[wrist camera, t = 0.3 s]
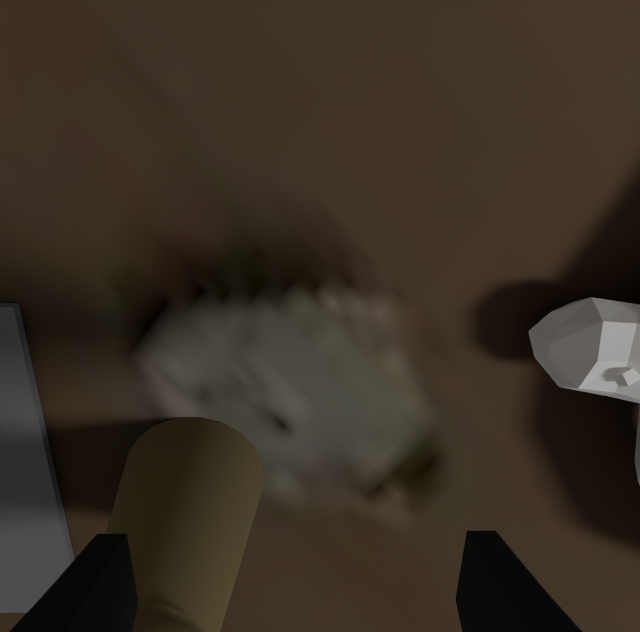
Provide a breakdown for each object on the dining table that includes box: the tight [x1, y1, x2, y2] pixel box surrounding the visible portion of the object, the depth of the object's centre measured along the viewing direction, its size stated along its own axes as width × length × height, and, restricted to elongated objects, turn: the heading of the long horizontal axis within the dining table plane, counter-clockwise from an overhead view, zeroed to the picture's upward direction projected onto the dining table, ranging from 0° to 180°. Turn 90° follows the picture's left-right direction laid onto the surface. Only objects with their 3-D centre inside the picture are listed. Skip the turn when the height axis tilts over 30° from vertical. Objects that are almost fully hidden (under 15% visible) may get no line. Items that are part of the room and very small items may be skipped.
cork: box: [106, 418, 265, 632], centre depth 17 cm, size 6×6×11 cm
